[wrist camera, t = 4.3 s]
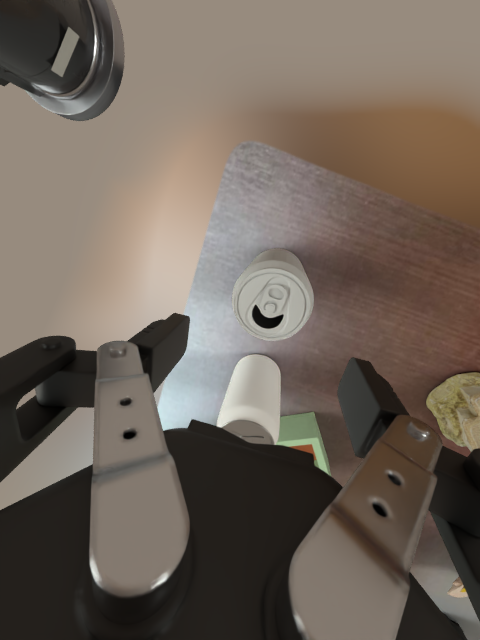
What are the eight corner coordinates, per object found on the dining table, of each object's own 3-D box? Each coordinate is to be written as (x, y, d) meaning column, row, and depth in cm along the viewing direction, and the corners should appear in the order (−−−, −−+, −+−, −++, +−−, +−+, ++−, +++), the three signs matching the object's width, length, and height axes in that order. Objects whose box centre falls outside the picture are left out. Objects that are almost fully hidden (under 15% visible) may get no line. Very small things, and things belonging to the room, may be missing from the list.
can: (234, 350, 34) (210, 413, 23) (282, 354, 33) (281, 421, 22) (235, 389, 36) (213, 463, 25) (279, 394, 35) (277, 472, 24)
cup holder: (203, 427, 40) (193, 451, 36) (313, 411, 35) (317, 437, 31) (223, 469, 43) (216, 496, 38) (328, 459, 38) (333, 489, 34)
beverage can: (242, 291, 30) (218, 329, 19) (259, 239, 28) (243, 250, 17) (291, 308, 30) (294, 357, 19) (312, 258, 28) (331, 281, 17)
